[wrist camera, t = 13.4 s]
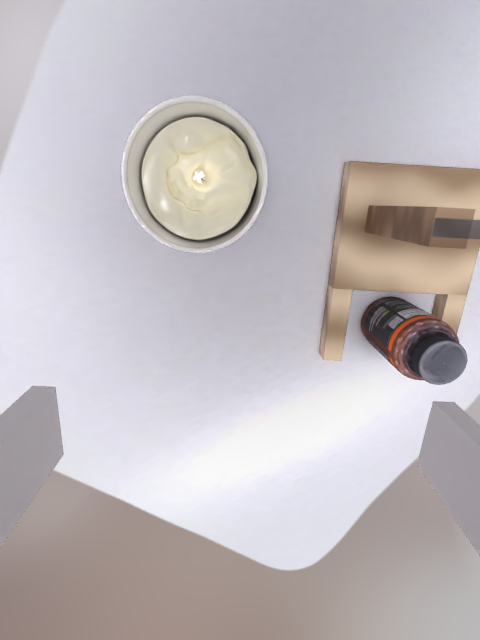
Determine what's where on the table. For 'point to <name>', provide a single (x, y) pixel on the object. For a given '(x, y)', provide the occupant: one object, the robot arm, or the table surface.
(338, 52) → the table surface
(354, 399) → the table surface
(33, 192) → the table surface
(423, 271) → the oak forked base
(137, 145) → the candle holder
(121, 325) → the table surface
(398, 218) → the hook post
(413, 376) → the supplement bottle
